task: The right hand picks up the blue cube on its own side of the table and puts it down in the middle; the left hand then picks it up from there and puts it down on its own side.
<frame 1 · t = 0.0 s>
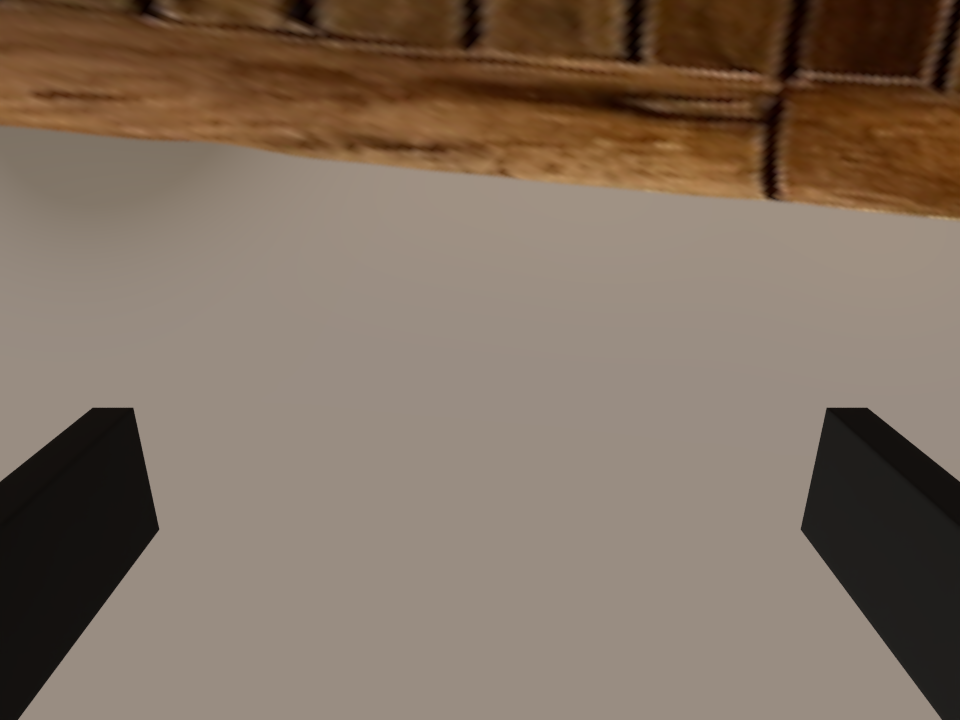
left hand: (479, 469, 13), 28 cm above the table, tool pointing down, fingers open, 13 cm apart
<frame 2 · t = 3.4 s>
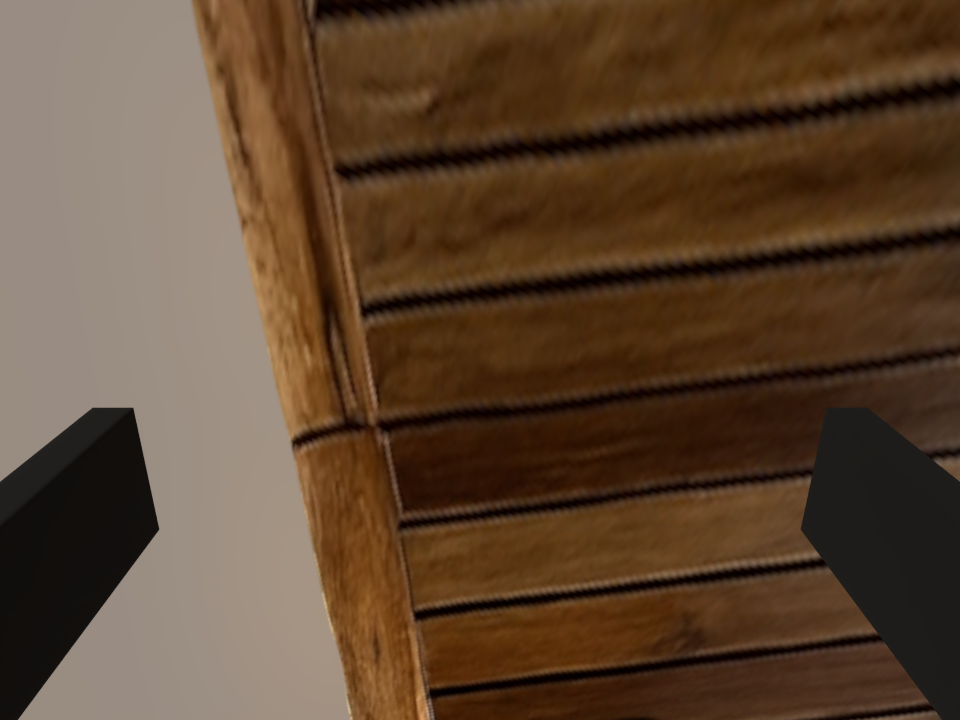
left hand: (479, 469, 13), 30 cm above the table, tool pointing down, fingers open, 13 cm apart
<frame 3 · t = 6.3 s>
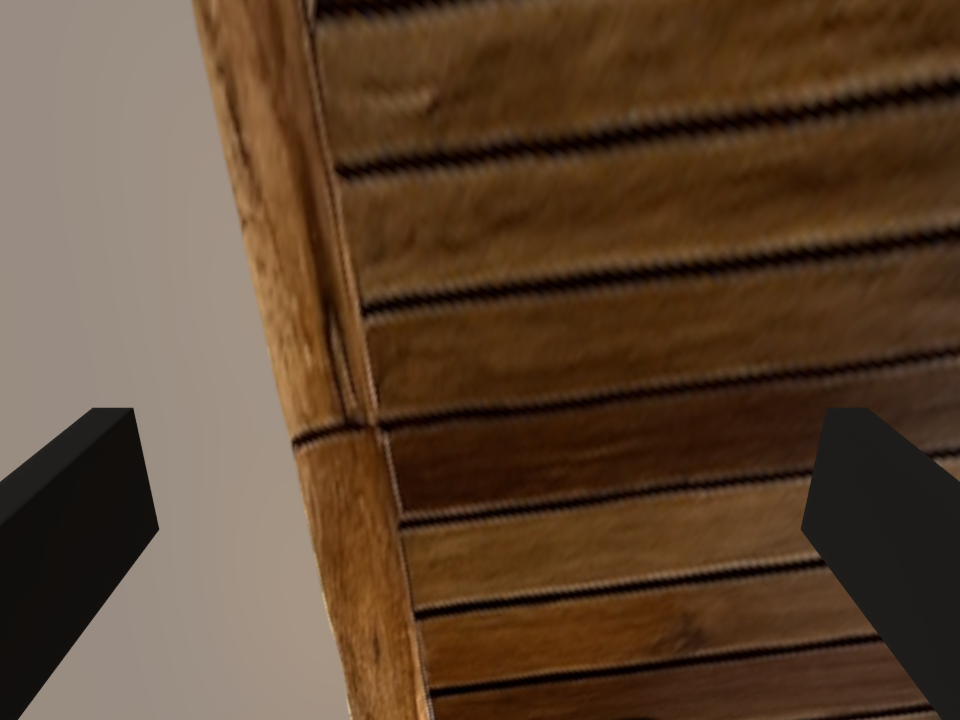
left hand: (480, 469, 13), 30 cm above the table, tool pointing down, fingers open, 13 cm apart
when the right hand's fingers open (3 cm above the table, at t = 9.5 s): blue cube drops 1 cm, on the table.
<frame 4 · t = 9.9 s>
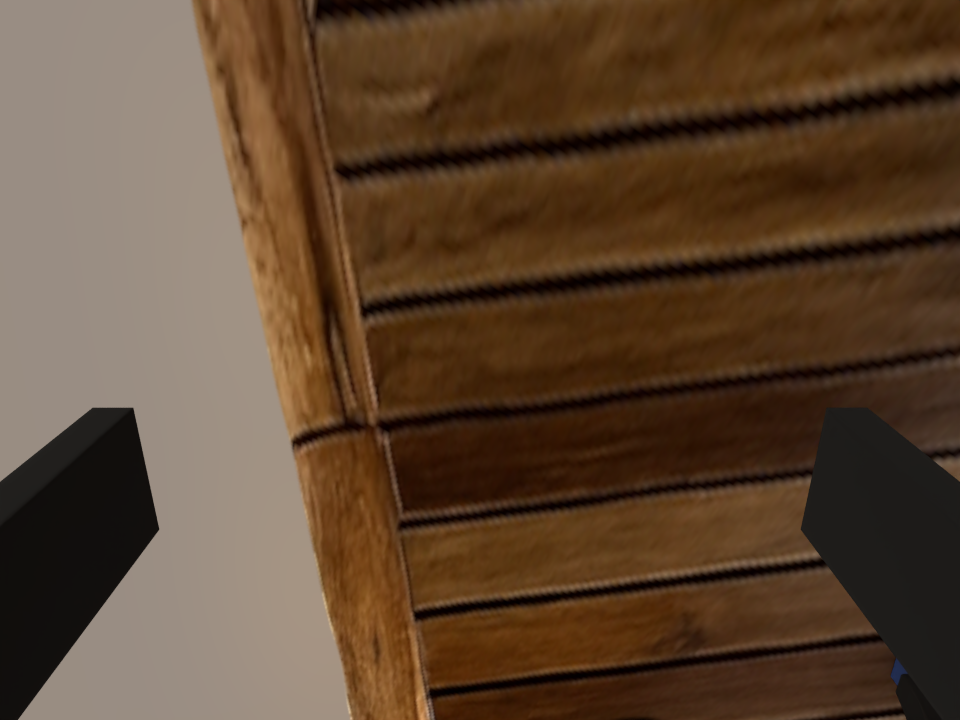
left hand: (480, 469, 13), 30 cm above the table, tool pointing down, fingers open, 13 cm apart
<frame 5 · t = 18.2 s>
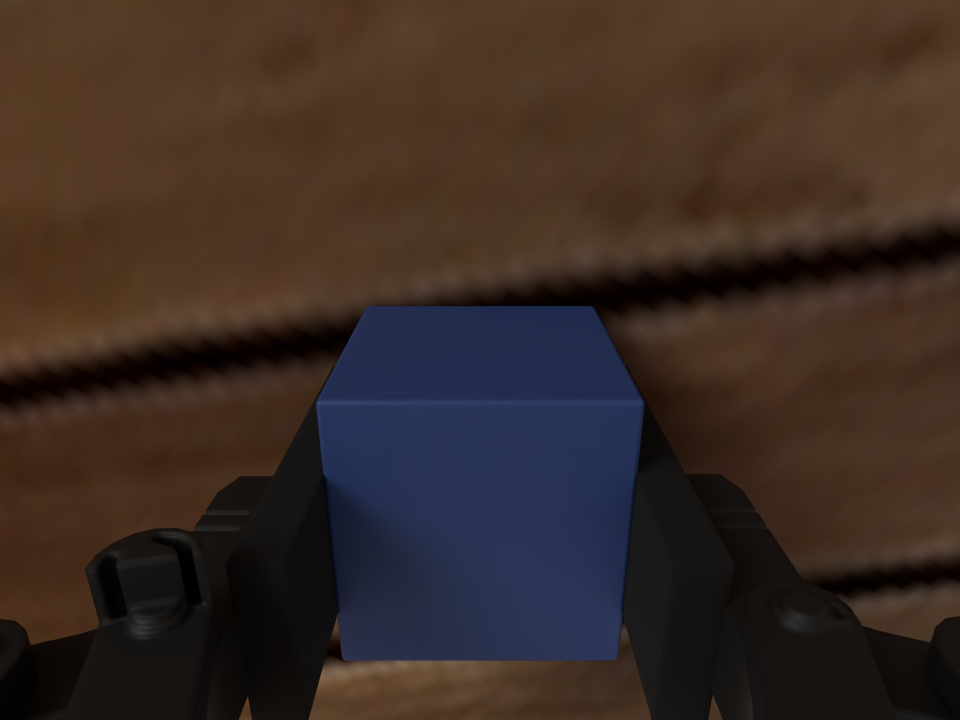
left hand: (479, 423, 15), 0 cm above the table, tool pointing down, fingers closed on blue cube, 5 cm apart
blue cube: (480, 412, 15), on the table, touching left hand
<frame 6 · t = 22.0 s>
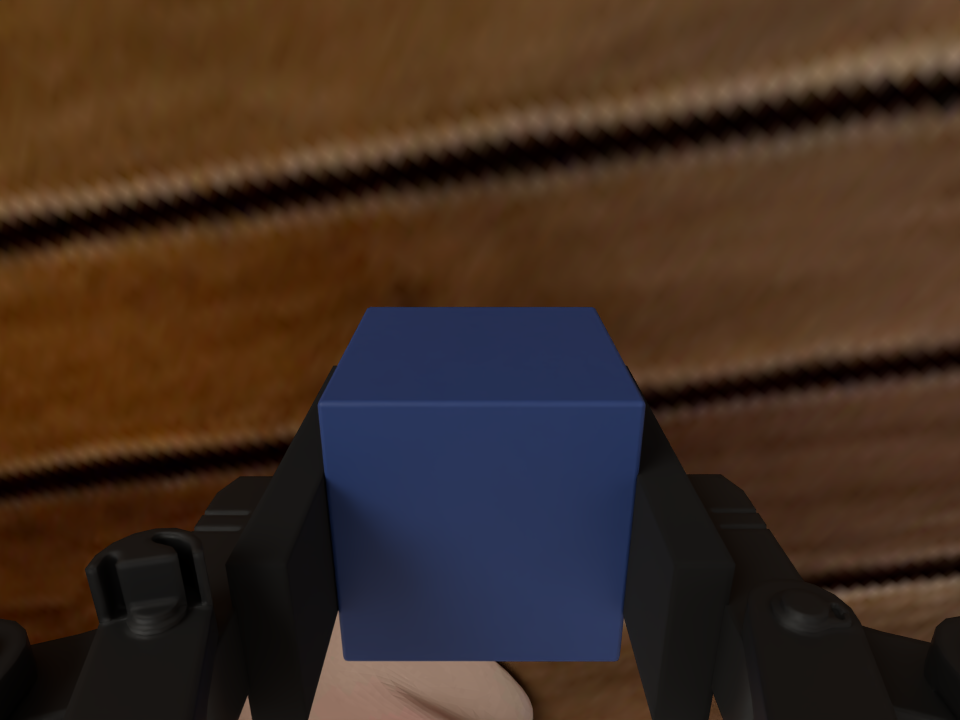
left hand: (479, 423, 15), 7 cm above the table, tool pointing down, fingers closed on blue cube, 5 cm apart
blue cube: (481, 412, 15), point 7 cm above the table, touching left hand
anatomical model: (357, 693, 27), on the table
when the left hand's fingers open (1 cm above the table, at t = 25.8 s): blue cube stays where it is, on the table.
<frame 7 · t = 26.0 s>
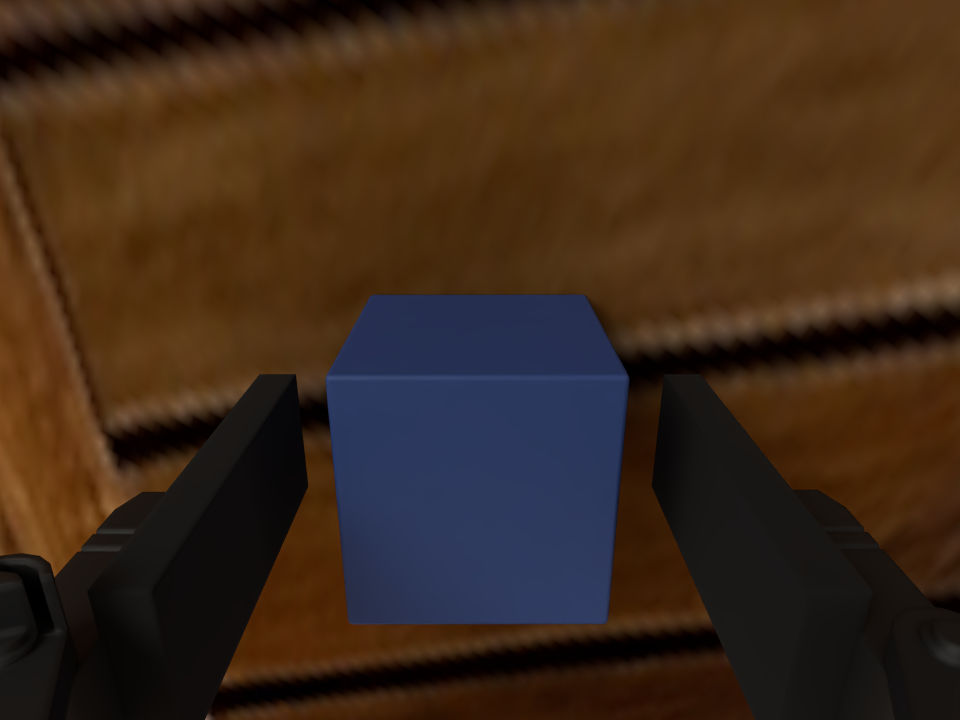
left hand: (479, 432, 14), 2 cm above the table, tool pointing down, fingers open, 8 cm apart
blue cube: (478, 396, 16), on the table
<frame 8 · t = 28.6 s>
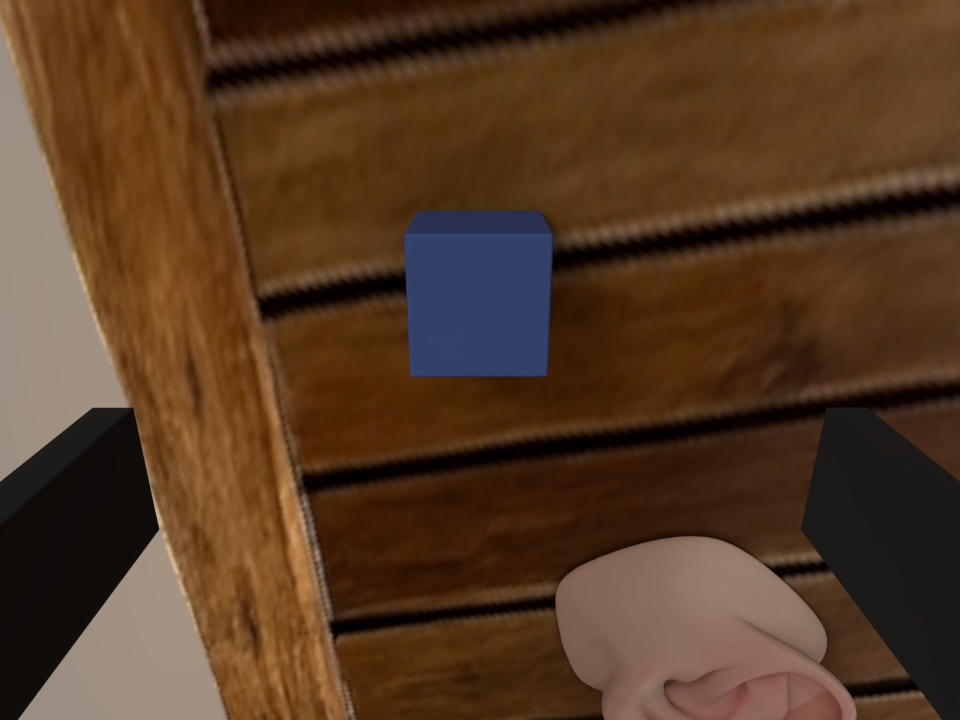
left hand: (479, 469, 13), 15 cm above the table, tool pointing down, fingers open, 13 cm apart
blue cube: (479, 273, 27), on the table
anatomical model: (682, 629, 33), on the table
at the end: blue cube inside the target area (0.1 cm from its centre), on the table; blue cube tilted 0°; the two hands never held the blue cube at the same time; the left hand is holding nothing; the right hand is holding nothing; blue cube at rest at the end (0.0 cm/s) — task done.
